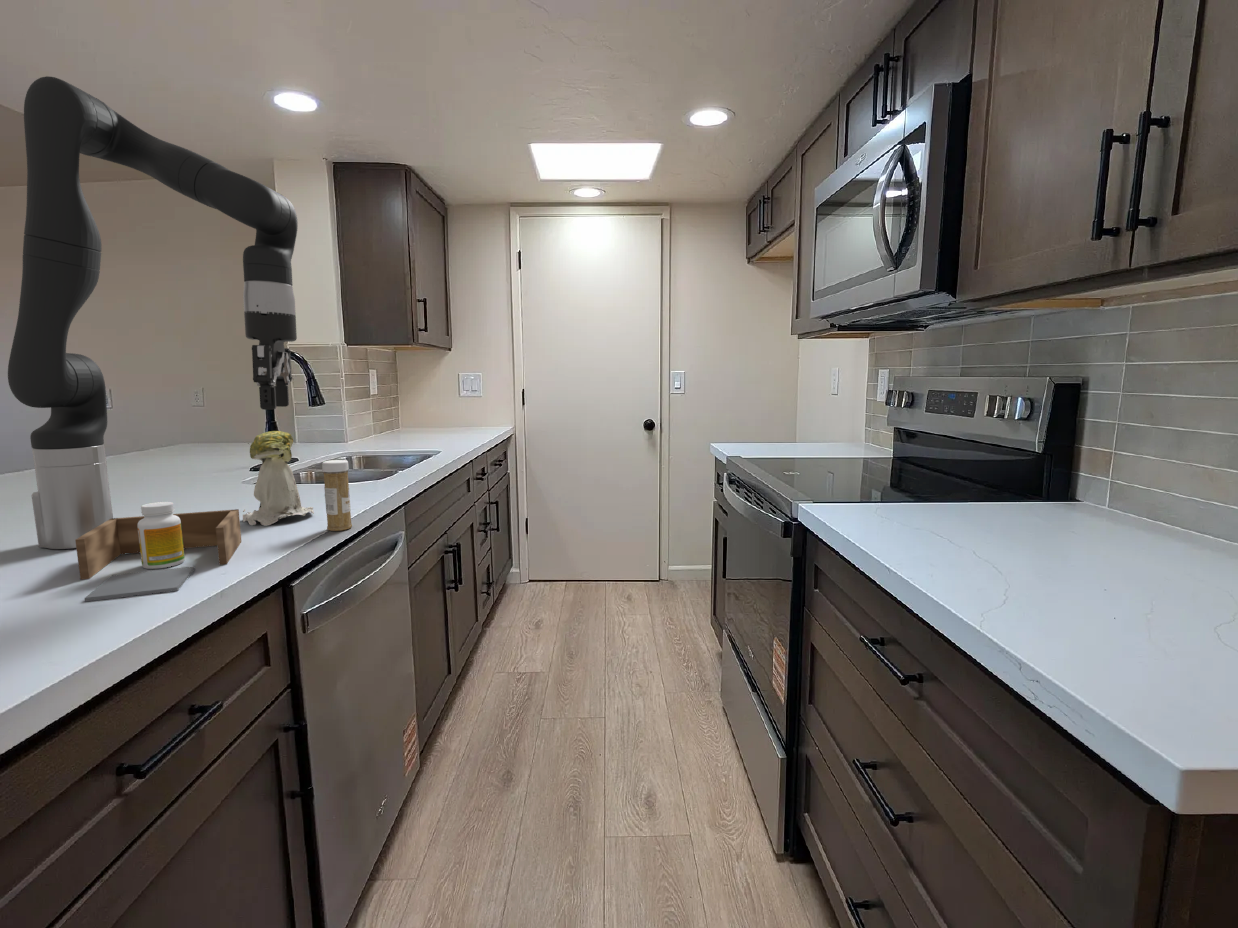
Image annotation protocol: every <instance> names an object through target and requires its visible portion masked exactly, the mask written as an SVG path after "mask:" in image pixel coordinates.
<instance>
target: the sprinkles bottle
mask: <svg viewBox="0 0 1238 928" xmlns="http://www.w3.org/2000/svg"><path fill="white" fill-rule="evenodd" d="M321 465H322V466H321V467H322V468H321V469H322V472H323V482H324V483H323V484H324V500H325V502H324V503H325V512H326V521H327V526H326V529H327V530H328V531H330V532H331V531H332V532H342V531H346V530H348V529H349V530H350V529H351V528H352V527H353V524H352V515H351V514H352V513H351V498H350V497H351V496H350V486H349V484H350V483H349V461H348V460H347V459H345V460H344V459H332V460H331V459H330V460H326V461H323V462H322V463H321Z"/></svg>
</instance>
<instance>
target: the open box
mask: <svg viewBox="0 0 1238 928" xmlns="http://www.w3.org/2000/svg"><path fill="white" fill-rule="evenodd" d="M173 515H176V516H178V517H179V518H180V520H181V529H182V538H183V547H184V549H192V548H193V549H194V548H203V547H204V548H207V547H214V546H216V547H217V555H218V565H219V566H221V565H222V566H223V565H228V563H229V561H230V560H231V559H232V557H233V556H234V554H235V552H236V551H237V549H238V548H239V546H240V545H241V543H242V533H241V532H242V531H241V521H240V510H239V508H238V509H237V508H235V509H224V510H223V509H222V510H209V511H198V512H197V511H196V512H195V511H194V512H181V513H173ZM143 518H144V515H142V516H141V515H139V516H125V517H113V518H112V519H109V520H108V521H106V522H104V523H103V524H101V525H99V526H98V527H96V528H94V529H93V530H91V531H89V532H87V533H86V534H84V535H82V536H81V537H79V538H77V539H76V540H75V541H76V548H75V549H76V556H77V563H78V570H79V577H80V578H79V579H80V580H90V579H91V578H93V576H95V575H96V574H98V573H99V572H100V571H101V570H103V569H104V568H105V567H106V566H108V565H109V564H110V563H112V562H113V561H114V560H116V557H117V558H118V557H119V556H121V555H126V554H125V553H131V554H140V553H139V552H140V544H139V536H138V526H137V525H138V522H139V521H140V520H141V519H143ZM120 554H121V555H120ZM111 561H112V562H111Z"/></svg>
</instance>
